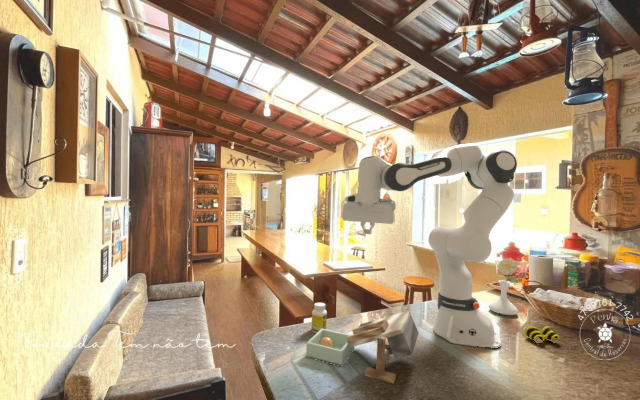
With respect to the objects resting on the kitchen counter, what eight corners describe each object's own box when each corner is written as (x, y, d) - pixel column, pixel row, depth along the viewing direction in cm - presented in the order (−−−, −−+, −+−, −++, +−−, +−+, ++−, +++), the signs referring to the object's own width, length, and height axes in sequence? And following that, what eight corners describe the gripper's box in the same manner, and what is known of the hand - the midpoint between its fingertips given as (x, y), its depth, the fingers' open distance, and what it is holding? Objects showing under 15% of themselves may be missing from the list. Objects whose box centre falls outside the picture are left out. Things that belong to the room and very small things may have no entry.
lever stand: (406, 347, 105) (407, 314, 105) (393, 383, 85) (395, 343, 85) (382, 342, 109) (383, 310, 108) (364, 375, 88) (365, 336, 88)
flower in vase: (482, 308, 146) (485, 253, 145) (506, 307, 147) (508, 254, 146) (502, 319, 133) (505, 260, 132) (527, 319, 134) (530, 260, 133)
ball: (331, 333, 102) (321, 336, 104) (326, 338, 98) (315, 342, 100) (336, 345, 101) (326, 348, 103) (331, 351, 98) (321, 354, 99)
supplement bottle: (324, 334, 113) (325, 307, 113) (309, 333, 114) (310, 306, 114) (327, 328, 118) (328, 302, 118) (313, 326, 119) (314, 301, 119)
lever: (418, 332, 101) (407, 305, 102) (411, 355, 86) (398, 323, 87) (370, 344, 107) (360, 319, 108) (356, 368, 92) (345, 338, 94)
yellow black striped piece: (533, 346, 111) (536, 334, 110) (523, 337, 116) (525, 325, 115) (559, 346, 112) (562, 333, 111) (547, 336, 117) (550, 324, 116)
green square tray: (354, 349, 103) (354, 335, 103) (341, 366, 92) (342, 351, 92) (321, 341, 108) (321, 328, 108) (306, 357, 97) (306, 342, 97)
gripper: (397, 199, 121) (396, 235, 121) (346, 197, 129) (345, 231, 130) (394, 199, 115) (392, 237, 115) (341, 197, 123) (340, 232, 124)
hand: (367, 234), depth 123 cm, fingers closed
